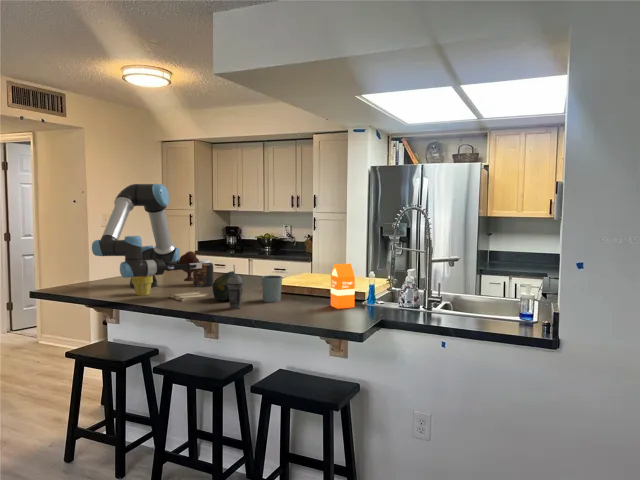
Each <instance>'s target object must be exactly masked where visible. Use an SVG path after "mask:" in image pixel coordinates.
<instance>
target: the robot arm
mask: <svg viewBox="0 0 640 480" xmlns="http://www.w3.org/2000/svg"><path fill="white" fill-rule="evenodd" d="M113 203H114V207H113V209H112V211H111V213H110V214H111V215H110V216H109V218H108V221H107V224H106V226H105V228H104V231H103V233H102V235H101V237H100V239H96V240H93V241H92V244H91V251H92V254H93V255H94V256H96V257H124V261H122V262H120V264H119V274H120V276H121V277H122V278H125V279H126V278H130V280H129V287H130V288H132V287H134V284H133V283H132V278H133V277H141V276H148V277H150V276H151V275H152V276H153V282H152V283H151V288H153V287H157V286H158V280H157V277H156V276H162V275H164V273H165V271H166V272H170V271H171V272H172V271H183V270H189V271H190V269H197V268H202V263H190V264H178V262H179V259H180V257H181V255H180V253H181V251H180V248H179V247H176V244H175V243H174V242H172V240H171V233H170V230H169V229H170V228H169V224H168V217H167V214H166V209H167V207H168V205H169V204H170V195H169V190H168V189H167V187H166V185H164V184H162V183H133V184H130V185H128V186H126V187H125V188H124V189H123V188H122V190H121V191H120V192H119V193H118V194H117V196H116V197H115V200H114V202H113ZM135 207H143V209H144V211H145V212H147V213H148V216H149V221H150V225H151V229H152V234H153V238H154V242H155V245H151V244H150V245H145V246H143V244H142V241H143V240H142V237H141V236H140V235H126V236H124V239H120V238H121V235H122V232H123V230H124V227H125V225H126V222H127V220H128V217H129V214H130V212H131V211H132V210H133V209H134V208H135Z"/></svg>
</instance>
